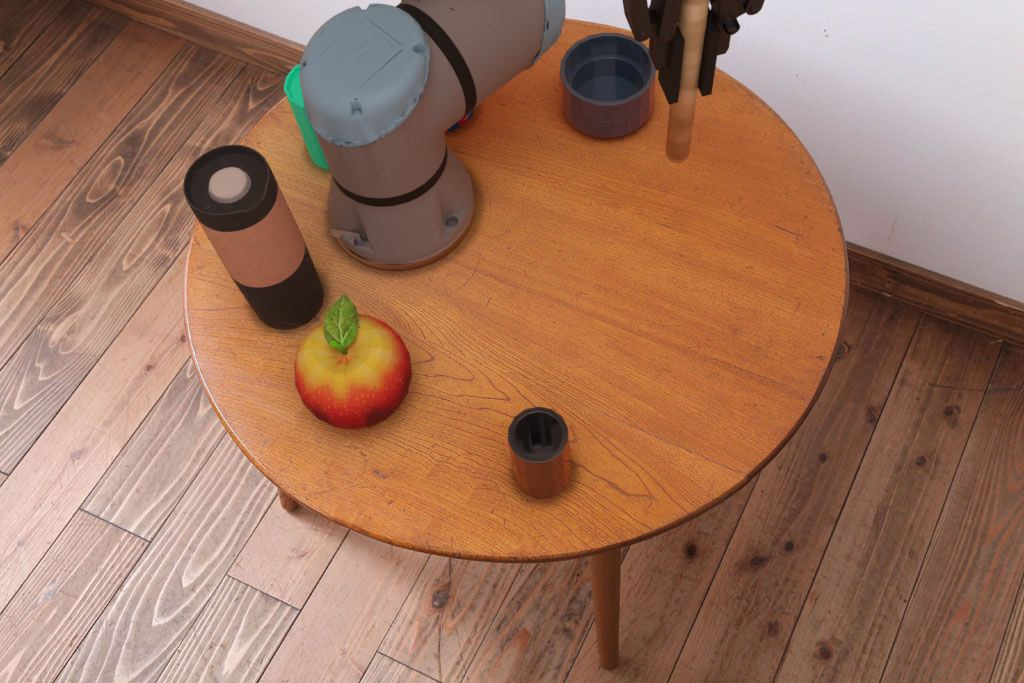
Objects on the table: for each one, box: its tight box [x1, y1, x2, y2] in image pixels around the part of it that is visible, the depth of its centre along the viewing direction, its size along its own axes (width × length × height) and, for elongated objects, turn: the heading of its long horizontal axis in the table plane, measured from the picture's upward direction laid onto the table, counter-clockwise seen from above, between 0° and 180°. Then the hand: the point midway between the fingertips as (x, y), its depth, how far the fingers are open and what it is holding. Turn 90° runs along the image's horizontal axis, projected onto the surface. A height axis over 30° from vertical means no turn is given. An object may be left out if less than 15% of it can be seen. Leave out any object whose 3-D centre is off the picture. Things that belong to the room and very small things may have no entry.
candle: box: [283, 63, 330, 171], centre depth 107 cm, size 6×6×12 cm
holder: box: [507, 406, 572, 500], centre depth 89 cm, size 5×5×9 cm
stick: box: [665, 0, 710, 164], centre depth 78 cm, size 2×2×19 cm
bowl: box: [559, 32, 657, 139], centre depth 109 cm, size 10×10×6 cm
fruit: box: [293, 292, 413, 430], centre depth 93 cm, size 11×11×10 cm
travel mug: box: [182, 144, 324, 331], centre depth 95 cm, size 8×8×20 cm
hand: (684, 86), depth 79 cm, fingers closed on stick, 2 cm apart
